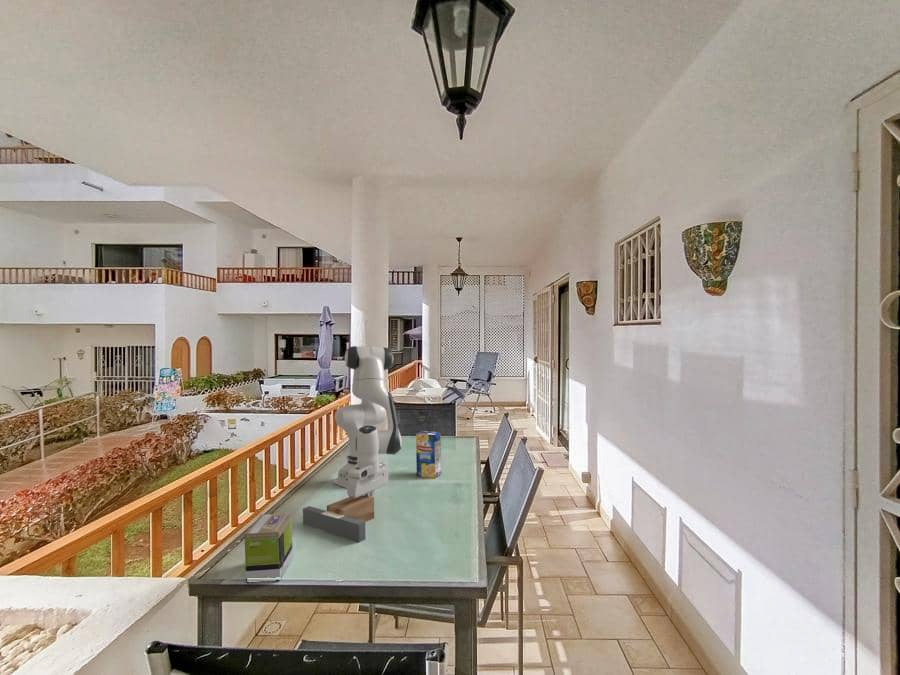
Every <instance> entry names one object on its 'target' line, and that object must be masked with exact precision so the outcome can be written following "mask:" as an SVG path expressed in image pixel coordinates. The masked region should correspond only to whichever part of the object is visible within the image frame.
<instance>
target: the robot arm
mask: <svg viewBox="0 0 900 675" xmlns="http://www.w3.org/2000/svg"><path fill="white" fill-rule="evenodd" d="M344 362H345V365H346V367H347V368H349V369H351V370H353V376H352V385H351V386H352V387H351V392H352V394H353V396H354V397H355V398H358V399H359V400H361V403H357V404H347V405H343V406H341V407H338V408H337V410H336V412H335V413H334V421H335V424H337V426H338V427H339V428H341V429H342V430H343V431H344V432H345V433H346V436H347V437H348V442H349V453H350V455H346V460H347V462H346V463H345V464H344V465H343V466H342V467H340V468H339V469H338V471H337V478H335V479H333V480H332V484H334V483H335V485H337V486H340V487H343V488H345V489H347V492H346V493H347V495H348V497H351V498H357V497H359V496H361V495H365V496H368V497H373V496H374V493H375V490H377V489H379V488H382V487H385V486H387V485H388V484H389V473H388V469H387V464H386V463H385V462H381V461H380V455H384V454H386V455H393V456H394V455H396V454H398V453H399V452H400V450H401V449H402V446H403V439H402V436H401V432H400V429H399V423H398V418H397V417H398V416H397V412H396V406H395V401H394V397H393V395H392V393H391V392H390V391H388V389H387V388H386V383H385V380H386V379H385V378H386V377H385V371H387V370H389V369H390V368H391V367H392V365H393V363H394V354H393V351H392V350H391V348H389V347H385V346H384V347H380V346H374V345H369V346H367V345H366V346H365V345H364V346H363V345H362V346H360V345H359V346H357V345H353V346H349V347H348V348H347V349H346V351H345V354H344ZM386 419H387V424H388V429H386V430H385V429H383V430H378V428H377V427H376V426H375V425H378V424H381V423H383V422H384V421H385V420H386ZM380 462H381V463H380ZM373 498H374V497H373Z"/></svg>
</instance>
